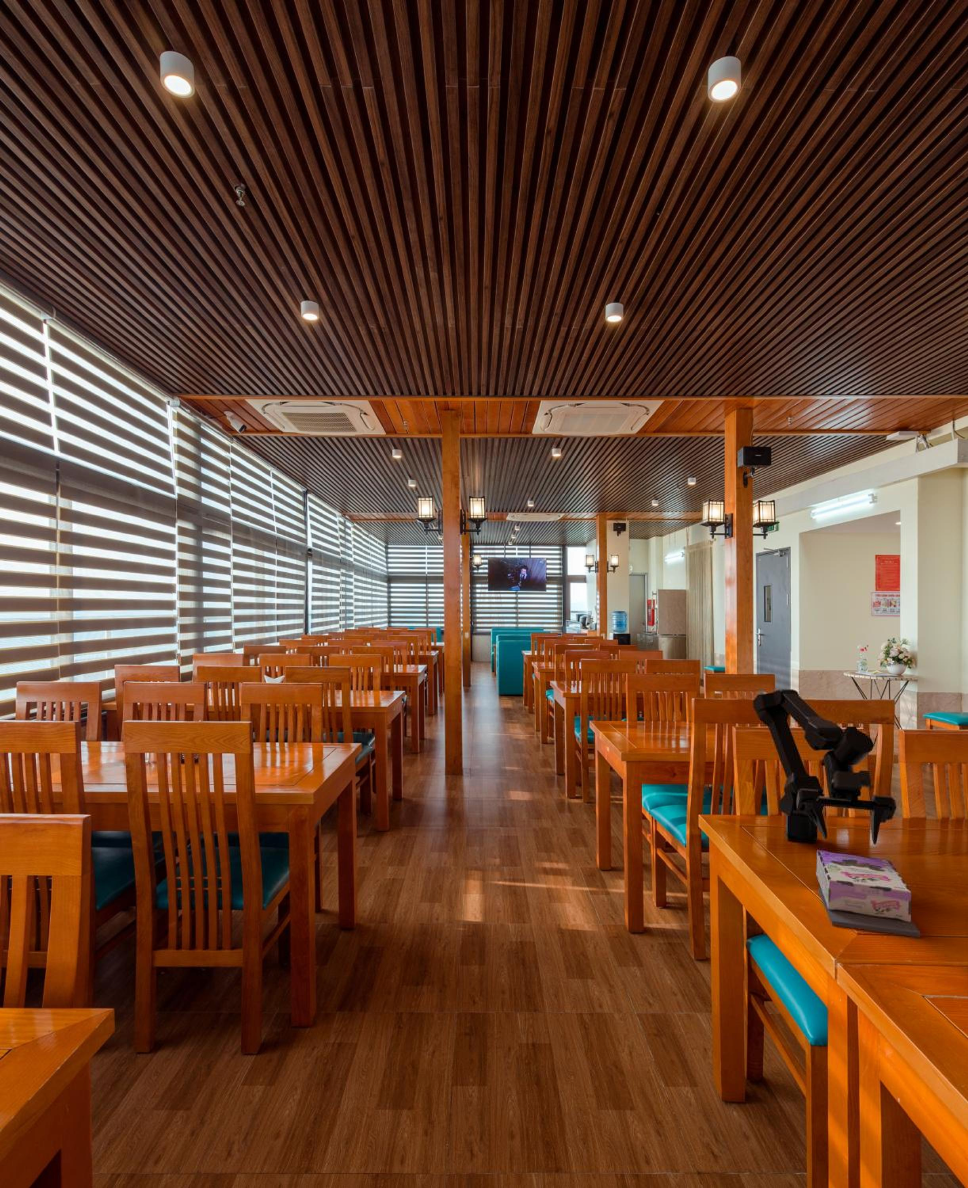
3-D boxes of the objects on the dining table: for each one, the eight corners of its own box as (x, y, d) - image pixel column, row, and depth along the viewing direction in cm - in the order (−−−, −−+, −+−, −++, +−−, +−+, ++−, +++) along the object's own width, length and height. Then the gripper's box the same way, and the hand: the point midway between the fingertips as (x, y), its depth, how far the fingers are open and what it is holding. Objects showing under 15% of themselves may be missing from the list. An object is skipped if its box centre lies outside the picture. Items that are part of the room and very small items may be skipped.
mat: (832, 925, 122) (832, 920, 123) (818, 891, 137) (818, 887, 137) (920, 937, 118) (920, 933, 118) (896, 901, 133) (896, 897, 133)
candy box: (890, 859, 137) (913, 891, 122) (889, 888, 137) (912, 924, 122) (816, 848, 142) (828, 878, 126) (815, 876, 142) (827, 910, 126)
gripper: (798, 752, 149) (805, 817, 138) (894, 758, 143) (909, 827, 132) (793, 778, 156) (800, 842, 145) (884, 786, 150) (898, 853, 140)
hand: (850, 840), depth 141 cm, fingers open, 9 cm apart
